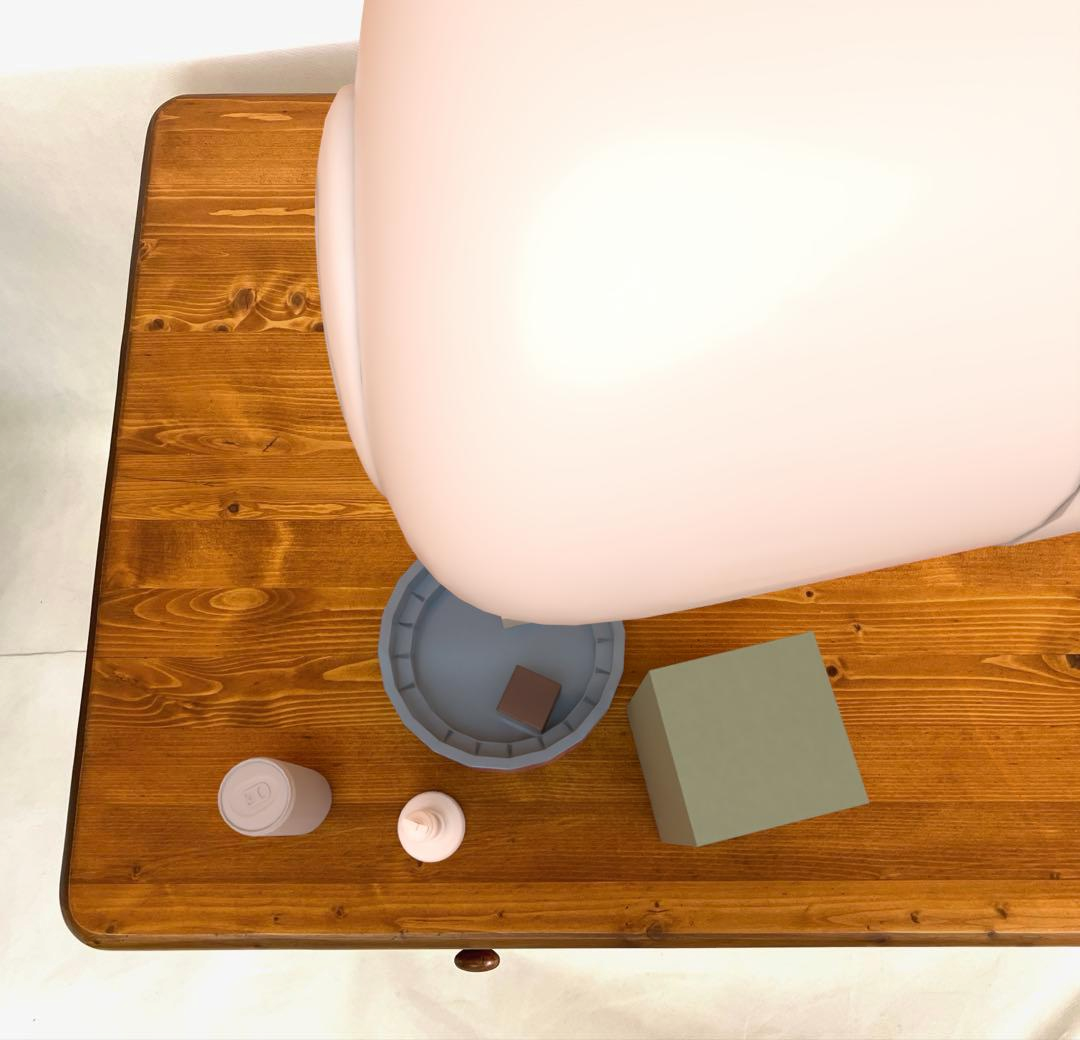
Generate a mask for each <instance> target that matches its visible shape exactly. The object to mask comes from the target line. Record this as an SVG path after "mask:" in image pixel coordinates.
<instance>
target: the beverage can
mask: <svg viewBox="0 0 1080 1040" xmlns="http://www.w3.org/2000/svg"><path fill="white" fill-rule="evenodd" d="M332 804H333V794H332V790H331V786H330V784H329V782H328V780H327V778H326V777H324V776H323V775H322V774H321V773H320V772H319V771H317V770H314V769H311V768H308V767H305V766H302V765H298V764H295V763H291V762H288V761H284V760H280V759H276V758H272V757H266V756H257V757H250V758H248V759H246V760H242V761H240V762H238V763H237V764H235V765H234V766H232V768H230V770H229V771H228V772H227V773H226V774H225V775H224V777H223V779H222V782H221V783H220V786H219V789H218V792H217V807H218V810H219V814H220V815H221V817H222V819H223V821H224V822H225V823H226V824H227V825H228V827H230V828H231V829H232V830H233V831H236V832H237V833H239V834H241V835H245V836H249V837H282V836H284V837H285V836H302V835H306V834H308V833H311V832H313V831H315V829H317V828H318V827H319V826H320V825H321V824H322V823H323V822H324V820H325V819H326V818H327V816H328V814H329V812H330V810H331V806H332Z"/></svg>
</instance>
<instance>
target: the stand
mask: <svg viewBox="0 0 1080 1040" xmlns="http://www.w3.org/2000/svg"><path fill="white" fill-rule="evenodd" d="M625 711H626V714H627V718H628V721H629V725H630V730H631V733H632V737H633V740H634V745H635V748H636V753H637V756H638V760H639V763H640V767H641V771H642V775H643V779H644V783H645V786H646V790H647V793H648V797H649V802H650V805H651V809H652V813H653V816H654V820H655V824H656V828H657V832H658V835H659V839H660V843H661V844H670V845H678V846H679V845H680V846H688V847H698V848H699V847H703V846H706V845H711V844H715V843H719V842H723V841H726V840H730V839H734V838H738V837H741V836H745V835H749V834H754V833H758V832H762V831H766V830H769V829H773V828H777V827H781V826H785V825H789V824H793V823H796V822H801V821H805V820H809V819H812V818H817V817H820V816H824V815H828V814H832V813H836V812H840V811H843V810H848V809H851V808H857V807H859V806H864V805H867V804H869V803H870V799H869V797H868V793H867V791H866V788H865V784H864V780H863V778H862V774H861V772H860V769H859V766H858V763H857V760H856V757H855V754H854V750H853V748H852V745H851V741H850V739H849V736H848V732H847V730H846V726H845V724H844V720H843V717H842V715H841V711H840V708H839V705H838V702H837V698H836V696H835V693H834V690H833V686H832V684H831V681H830V678H829V674H828V672H827V669H826V665H825V662H824V659H823V656H822V653H821V651H820V648H819V643H818V642H817V638H816V636H815V632H814V630H811V631H806V632H802V633H797V634H793V635H789V636H786V637H781V638H777V639H773V640H769V641H765V642H760V643H757V644H753V645H748V646H744V647H739V648H735V649H731V650H728V651H724V652H720V653H719V652H718V653H715V654H711V655H707V656H703V657H699V658H695V659H690V660H686V661H681V662H678V663H674V664H670V665H666V666H661V667H657V668H654V669H649V670H648V672H647V673H646V675H645V677H644V678H643V679H642V681H641V683H640V684H639V686H638V687H637V689H636V690H635V692H634V694H633V695H632V696H631V698H630V700H629V702H628V704H627V705H626V707H625Z"/></svg>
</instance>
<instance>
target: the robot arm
mask: <svg viewBox="0 0 1080 1040" xmlns="http://www.w3.org/2000/svg"><path fill="white" fill-rule="evenodd" d="M362 6H363V7H362V13H361V21H360V30H359V40H358V49H357V50H358V51H357V59H356V66H355V68H356V69H355V76H354V82H352V83H348V84H344V85H342V86H341V87H340V88H339V89H338V91H337V93H336V95H335V97H334V99H333V101H332V102H331V105H330V107H329V109H328V112H327V114H326V117H325V119H324V124H323V129H322V133H321V134H322V135H321V140H320V145H319V150H318V158H317V165H316V178H315V194H314V239H315V253H316V267H317V268H316V269H317V271H316V272H317V280H318V283H317V284H318V291H319V298H320V311H321V312H320V313H321V320H322V327H323V334H324V340H325V346H326V350H327V356H328V362H329V366H330V371H331V377H332V380H333V385H334V389H335V393H336V396H337V399H338V403H339V408H340V411H341V414H342V417H343V418H342V419H343V420H344V423H345V424H346V429H347V430H346V431H347V433H348V436H349V438H350V440H351V443H352V445H353V447H354V449H355V452H356V455H357V457H358V458H359V462H360V463H361V465H362V467H363V469H364V472H365V473H366V476H367V477H368V479H369V480H370V482H371V484H372V485H373V486H374V487H375V488H376V489H377V490H378V491H379V493H380V494H381V495H382V497H384V498H386V501H387V502H388V503H389V507H390V509H391V511H392V513H393V515H394V518H395V519H396V521H397V524H398V526H399V528H400V531H401V532H402V534H403V536H404V539H405V541H406V543H407V545H408V547H409V548H410V549H411V550H412V552H413V553H414V555H415V557H416V559H419V560H420V562H421V563H422V564H423V565H424V566H425V567H426V568H427V570H428V571H429V572H430V573H431V574H432V575H433V577H434V578H435V579H436V580H437V581H438V582H439V583H440V584H442V585H443V586H444V587H445V588H447V589H448V590H449V591H450V592H452V593H453V594H454V595H455V596H457V597H458V598H459V599H461V600H463V601H465V602H467V603H469V604H471V605H473V606H475V607H477V608H478V609H480V610H482V611H485V612H488V613H491V614H494V615H498V616H501V617H504V618H508V619H511V620H516V621H523V622H530V623H537V624H543V625H583V624H593V623H602V622H612V621H621V620H622V621H629V620H630V621H631V620H639V619H646V618H651V617H657V616H662V615H666V614H672V613H677V612H682V611H687V610H693V609H698V608H702V607H707V606H708V607H709V606H713V605H717V604H722V603H727V602H732V601H737V600H740V599H745V598H746V599H747V598H750V597H756V596H761V595H765V594H769V593H775V592H779V591H783V590H788V589H793V588H798V587H803V586H806V585H811V584H816V583H821V582H827V581H832V580H835V579H839V578H845V577H849V576H855V575H860V574H864V573H868V572H869V573H870V572H872V571H873V572H874V571H877V570H883V569H888V568H892V567H898V566H902V565H907V564H911V563H915V562H920V561H924V560H930V559H935V558H939V557H945V556H949V555H953V554H954V555H955V554H959V553H963V552H968V551H973V550H977V549H982V548H986V547H1011V546H1016V545H1023V544H1027V543H1031V542H1036V541H1041V540H1046V539H1050V538H1055V537H1060V536H1065V535H1070V534H1074V533H1075V534H1076V533H1079V532H1080V0H363V5H362Z"/></svg>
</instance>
